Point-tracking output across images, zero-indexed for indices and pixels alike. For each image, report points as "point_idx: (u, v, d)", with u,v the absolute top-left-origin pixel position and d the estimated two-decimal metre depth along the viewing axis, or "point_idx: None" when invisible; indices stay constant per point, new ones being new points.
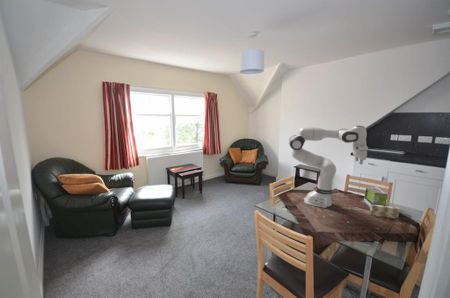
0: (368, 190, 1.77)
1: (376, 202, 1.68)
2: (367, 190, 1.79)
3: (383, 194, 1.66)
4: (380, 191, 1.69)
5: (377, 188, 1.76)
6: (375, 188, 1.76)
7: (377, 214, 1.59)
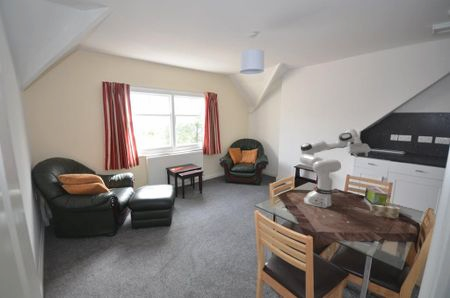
0: (368, 190, 1.77)
1: (376, 202, 1.68)
2: (367, 190, 1.79)
3: (383, 194, 1.66)
4: (380, 191, 1.69)
5: (377, 188, 1.76)
6: (375, 188, 1.76)
7: (377, 214, 1.59)
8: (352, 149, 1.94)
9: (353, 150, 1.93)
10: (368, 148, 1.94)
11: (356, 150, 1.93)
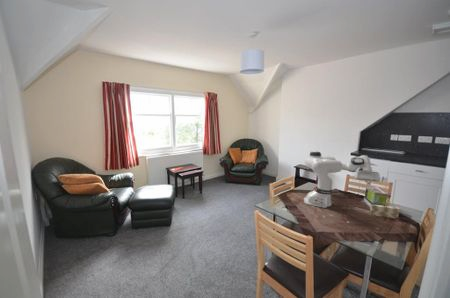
0: (368, 190, 1.77)
1: (376, 202, 1.68)
2: (367, 190, 1.79)
3: (383, 194, 1.66)
4: (380, 191, 1.69)
5: (377, 188, 1.76)
6: (375, 188, 1.76)
7: (377, 214, 1.59)
8: (359, 175, 1.94)
9: (360, 176, 1.93)
10: (378, 177, 1.90)
11: (364, 177, 1.92)
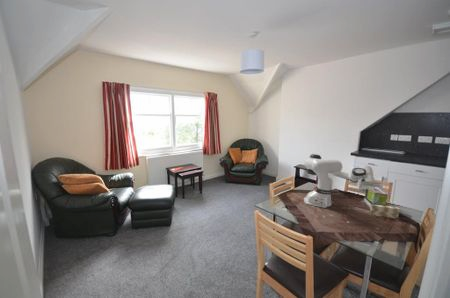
0: (368, 190, 1.77)
1: (376, 202, 1.68)
2: (367, 190, 1.78)
3: (383, 194, 1.66)
4: (380, 191, 1.69)
5: (377, 188, 1.75)
6: (375, 188, 1.75)
7: (377, 214, 1.59)
8: (362, 187, 1.86)
9: (362, 188, 1.86)
10: None
11: None
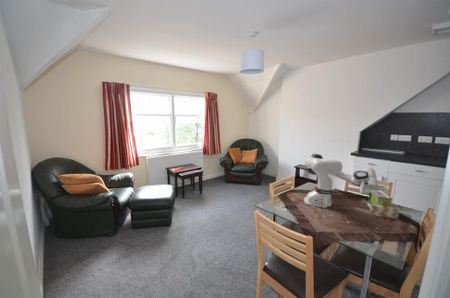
0: (372, 194, 1.69)
1: None
2: (371, 194, 1.71)
3: (387, 198, 1.58)
4: (384, 195, 1.62)
5: (381, 192, 1.68)
6: (379, 192, 1.68)
7: (377, 214, 1.59)
8: (365, 190, 1.79)
9: (366, 191, 1.78)
10: (385, 192, 1.75)
11: None
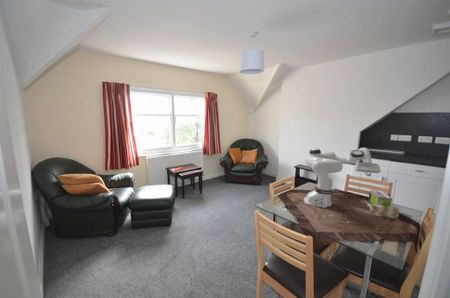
0: (372, 194, 1.69)
1: None
2: (370, 194, 1.71)
3: (387, 198, 1.58)
4: (384, 195, 1.62)
5: (381, 192, 1.68)
6: (379, 192, 1.68)
7: (377, 214, 1.59)
8: (359, 167, 1.94)
9: (360, 168, 1.93)
10: (378, 169, 1.90)
11: (364, 169, 1.92)
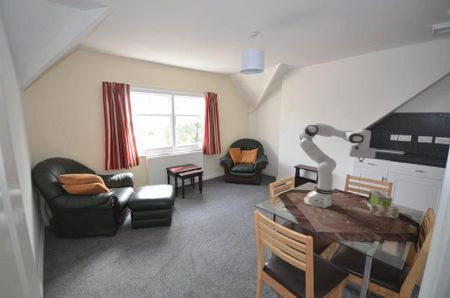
0: (372, 194, 1.69)
1: None
2: (371, 194, 1.71)
3: (387, 198, 1.58)
4: (384, 195, 1.62)
5: (381, 192, 1.68)
6: (379, 192, 1.68)
7: (377, 214, 1.59)
8: (353, 154, 1.84)
9: (354, 155, 1.84)
10: (373, 155, 1.80)
11: (358, 155, 1.83)
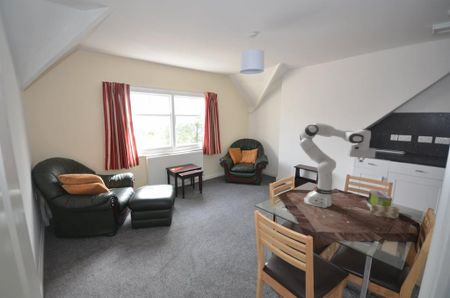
0: (372, 194, 1.69)
1: None
2: (371, 194, 1.71)
3: (387, 198, 1.58)
4: (384, 195, 1.62)
5: (381, 192, 1.68)
6: (379, 192, 1.68)
7: (377, 214, 1.59)
8: (353, 154, 1.84)
9: (353, 155, 1.84)
10: (373, 155, 1.80)
11: (357, 155, 1.83)
